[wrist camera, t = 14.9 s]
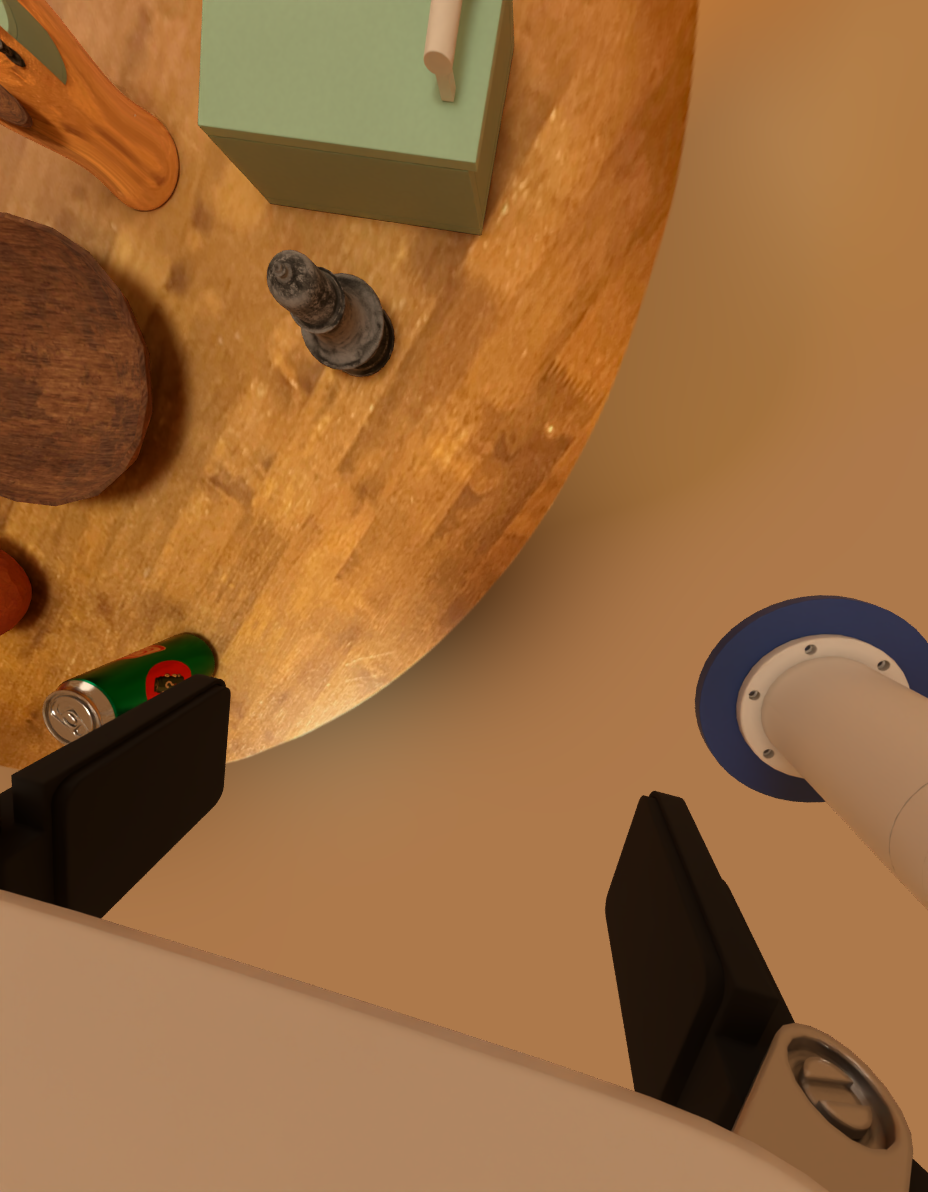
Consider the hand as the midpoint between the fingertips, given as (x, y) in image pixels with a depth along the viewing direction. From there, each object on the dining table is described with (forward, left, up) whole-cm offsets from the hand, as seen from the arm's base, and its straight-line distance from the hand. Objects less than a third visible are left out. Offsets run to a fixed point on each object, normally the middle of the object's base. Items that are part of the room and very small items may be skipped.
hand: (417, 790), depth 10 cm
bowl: (+38, -8, -28) cm, 48 cm away
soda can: (+26, +14, -28) cm, 41 cm away
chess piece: (+14, -15, -28) cm, 35 cm away
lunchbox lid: (+14, -28, -21) cm, 38 cm away
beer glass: (+32, -24, -28) cm, 49 cm away
